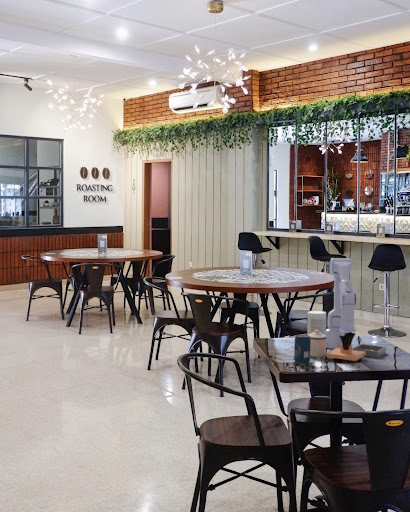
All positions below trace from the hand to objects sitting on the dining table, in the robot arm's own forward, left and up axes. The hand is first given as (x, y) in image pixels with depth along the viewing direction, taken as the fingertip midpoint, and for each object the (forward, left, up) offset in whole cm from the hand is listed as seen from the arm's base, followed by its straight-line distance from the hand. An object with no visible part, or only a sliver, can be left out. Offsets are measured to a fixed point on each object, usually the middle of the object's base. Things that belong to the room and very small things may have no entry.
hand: (346, 349), depth 287 cm
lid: (0, 0, -2) cm, 2 cm away
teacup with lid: (-16, 0, -5) cm, 17 cm away
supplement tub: (-27, +31, -5) cm, 41 cm away
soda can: (-14, -17, -5) cm, 23 cm away
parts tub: (+5, +17, -5) cm, 18 cm away
